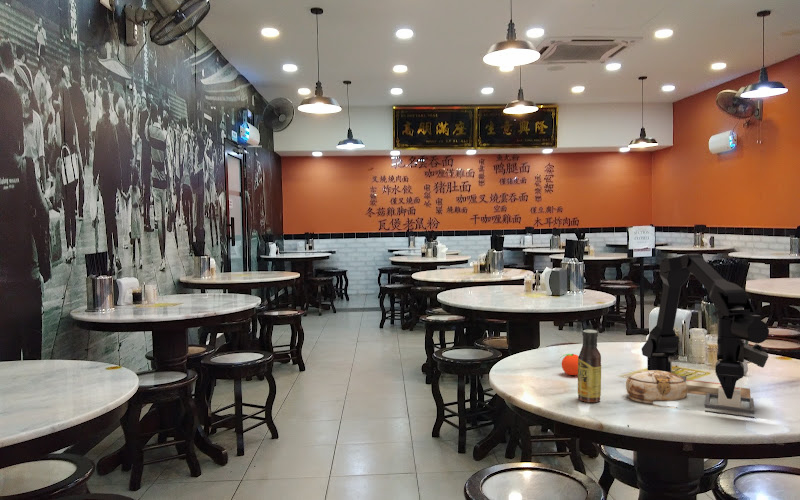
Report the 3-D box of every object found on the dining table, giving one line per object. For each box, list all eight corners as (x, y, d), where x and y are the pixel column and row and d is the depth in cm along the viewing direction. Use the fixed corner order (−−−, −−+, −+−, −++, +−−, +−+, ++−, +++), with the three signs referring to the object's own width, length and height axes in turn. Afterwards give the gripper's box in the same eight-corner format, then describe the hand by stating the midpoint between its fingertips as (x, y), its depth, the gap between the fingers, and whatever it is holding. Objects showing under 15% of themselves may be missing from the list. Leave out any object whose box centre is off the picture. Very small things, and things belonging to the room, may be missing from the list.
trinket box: (618, 397, 163) (618, 370, 162) (652, 388, 170) (652, 362, 170) (660, 410, 151) (660, 381, 151) (695, 400, 158) (695, 372, 158)
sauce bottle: (574, 397, 163) (573, 328, 162) (595, 396, 164) (594, 327, 163) (583, 404, 157) (583, 333, 156) (605, 403, 157) (605, 332, 156)
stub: (718, 408, 149) (718, 391, 149) (719, 401, 154) (719, 385, 154) (740, 411, 147) (740, 393, 146) (740, 404, 152) (740, 387, 152)
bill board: (676, 395, 162) (676, 383, 162) (680, 384, 173) (680, 373, 173) (750, 404, 153) (751, 392, 153) (749, 392, 164) (749, 380, 163)
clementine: (557, 376, 185) (556, 355, 184) (559, 371, 191) (559, 350, 191) (582, 379, 182) (582, 356, 181) (584, 373, 188) (584, 352, 188)
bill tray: (704, 411, 149) (704, 404, 149) (706, 399, 158) (706, 392, 158) (754, 418, 143) (754, 410, 143) (753, 405, 153) (753, 398, 152)
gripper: (768, 345, 137) (767, 408, 138) (764, 331, 154) (764, 388, 154) (715, 341, 143) (715, 402, 144) (717, 328, 159) (717, 383, 160)
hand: (729, 393), depth 150 cm, fingers open, 9 cm apart
